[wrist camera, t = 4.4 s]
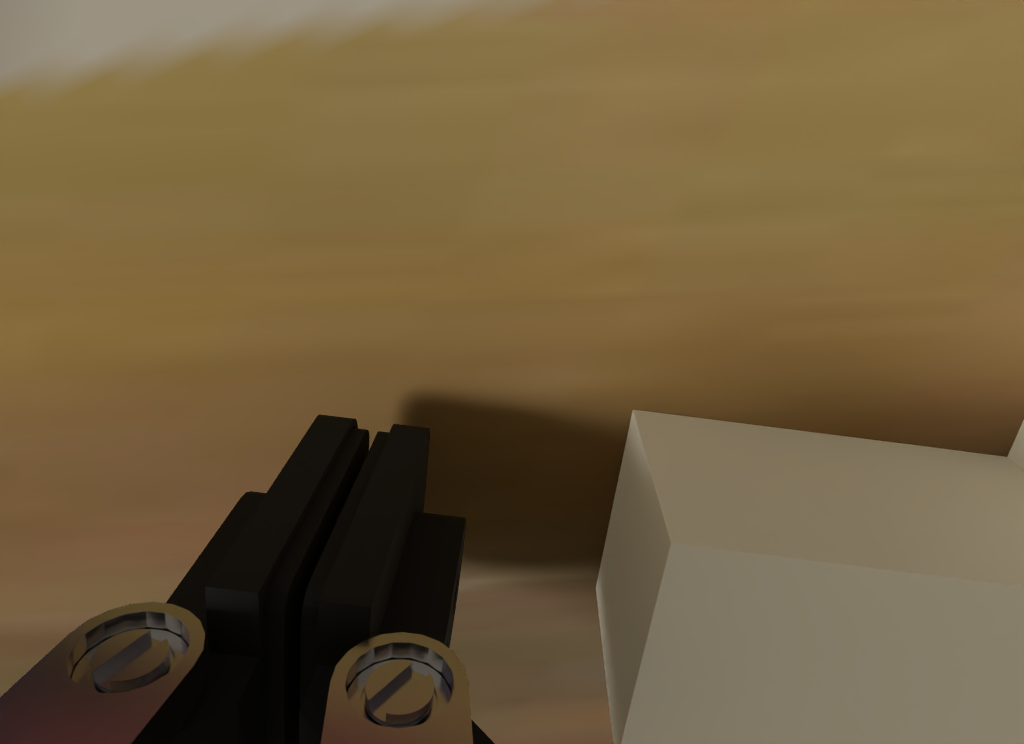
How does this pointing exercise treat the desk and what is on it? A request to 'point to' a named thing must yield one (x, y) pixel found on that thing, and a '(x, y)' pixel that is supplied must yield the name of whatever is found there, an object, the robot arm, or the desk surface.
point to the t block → (811, 589)
